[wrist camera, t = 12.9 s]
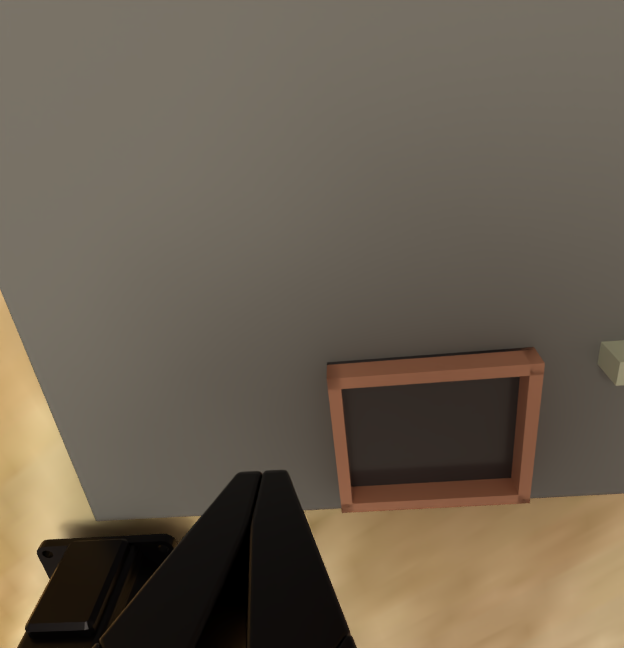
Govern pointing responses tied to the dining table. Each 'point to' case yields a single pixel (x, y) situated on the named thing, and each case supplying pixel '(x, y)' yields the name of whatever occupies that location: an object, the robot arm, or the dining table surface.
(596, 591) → the dining table surface
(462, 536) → the dining table surface
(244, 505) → the robot arm
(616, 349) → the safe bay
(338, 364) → the frame
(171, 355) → the track mat
